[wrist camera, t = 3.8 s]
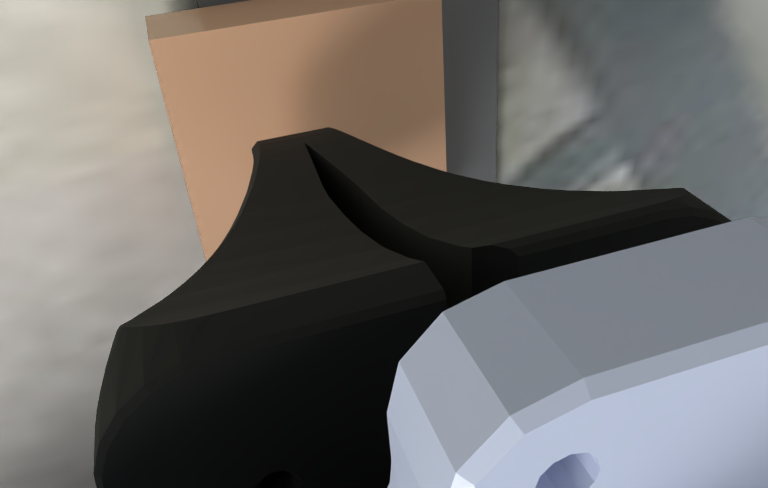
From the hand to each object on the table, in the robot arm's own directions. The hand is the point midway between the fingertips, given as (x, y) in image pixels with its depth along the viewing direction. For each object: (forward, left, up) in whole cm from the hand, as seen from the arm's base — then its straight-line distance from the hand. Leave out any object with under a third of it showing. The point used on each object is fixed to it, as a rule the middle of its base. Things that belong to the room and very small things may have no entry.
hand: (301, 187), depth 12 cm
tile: (0, +2, -2) cm, 3 cm away
